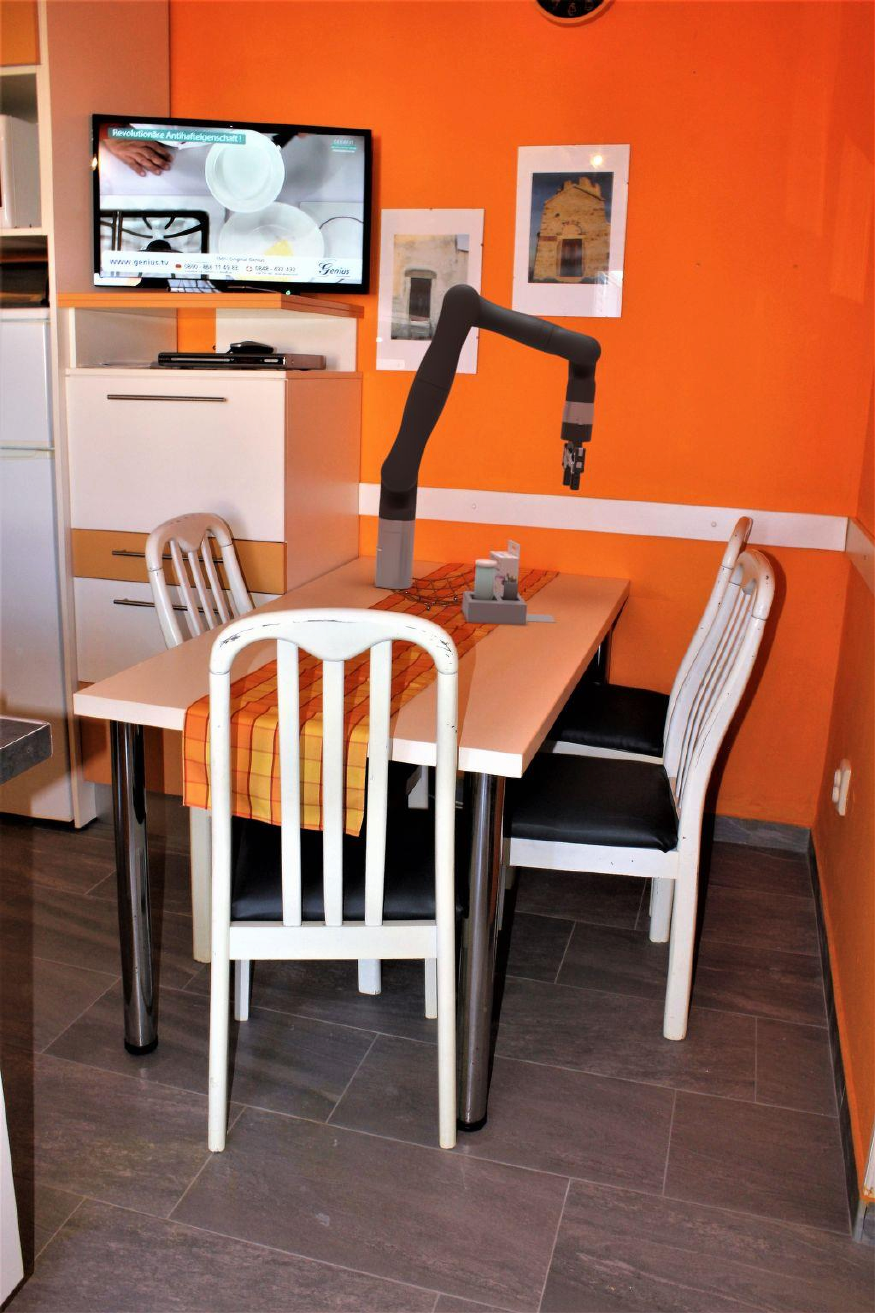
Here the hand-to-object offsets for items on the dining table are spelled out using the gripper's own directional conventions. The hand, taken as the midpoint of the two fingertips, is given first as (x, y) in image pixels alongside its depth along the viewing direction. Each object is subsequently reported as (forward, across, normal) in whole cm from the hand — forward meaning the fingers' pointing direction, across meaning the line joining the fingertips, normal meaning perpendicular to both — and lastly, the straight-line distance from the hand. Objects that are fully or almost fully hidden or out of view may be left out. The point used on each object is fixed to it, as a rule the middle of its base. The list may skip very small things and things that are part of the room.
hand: (570, 487), depth 276 cm
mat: (+28, +27, -10) cm, 40 cm away
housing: (+28, +28, -21) cm, 45 cm away
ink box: (+28, +8, -16) cm, 33 cm away
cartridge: (+27, +28, -24) cm, 46 cm away
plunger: (+25, +28, -17) cm, 41 cm away
